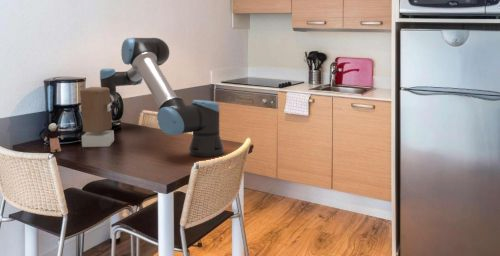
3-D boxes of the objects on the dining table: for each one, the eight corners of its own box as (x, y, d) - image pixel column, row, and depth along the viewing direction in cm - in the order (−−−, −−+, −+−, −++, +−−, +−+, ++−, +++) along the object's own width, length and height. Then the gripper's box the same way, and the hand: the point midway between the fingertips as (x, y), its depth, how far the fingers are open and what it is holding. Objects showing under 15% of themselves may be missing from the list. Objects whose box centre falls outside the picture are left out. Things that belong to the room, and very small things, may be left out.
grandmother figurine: (61, 149, 202) (59, 121, 200) (65, 150, 200) (62, 122, 197) (44, 152, 197) (41, 123, 194) (47, 153, 194) (44, 125, 192)
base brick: (108, 146, 207) (108, 136, 206) (82, 146, 206) (81, 136, 205) (114, 140, 219) (113, 130, 218) (88, 140, 218) (88, 130, 217)
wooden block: (102, 133, 205) (99, 89, 201) (82, 132, 207) (79, 89, 203) (112, 128, 215) (110, 87, 211) (93, 127, 217) (90, 86, 213)
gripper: (129, 108, 228) (121, 116, 207) (80, 109, 226) (67, 117, 205) (128, 93, 227) (120, 100, 205) (79, 94, 224) (66, 100, 203)
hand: (94, 108), depth 205 cm, fingers closed on wooden block, 12 cm apart
